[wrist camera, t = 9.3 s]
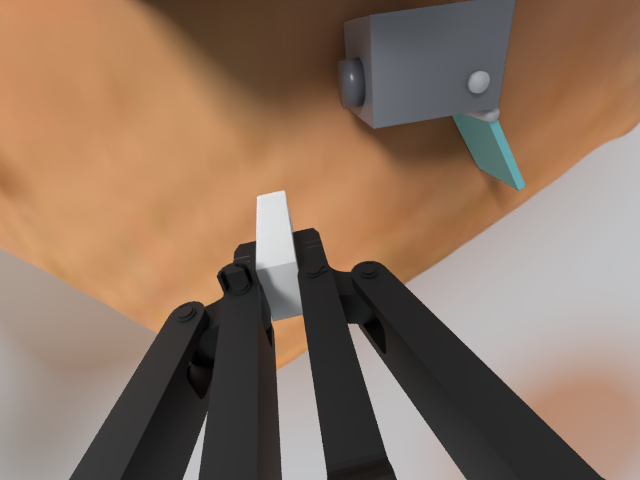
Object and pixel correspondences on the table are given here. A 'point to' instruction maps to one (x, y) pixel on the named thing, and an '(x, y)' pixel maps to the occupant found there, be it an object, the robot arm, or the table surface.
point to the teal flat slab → (489, 145)
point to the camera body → (425, 62)
